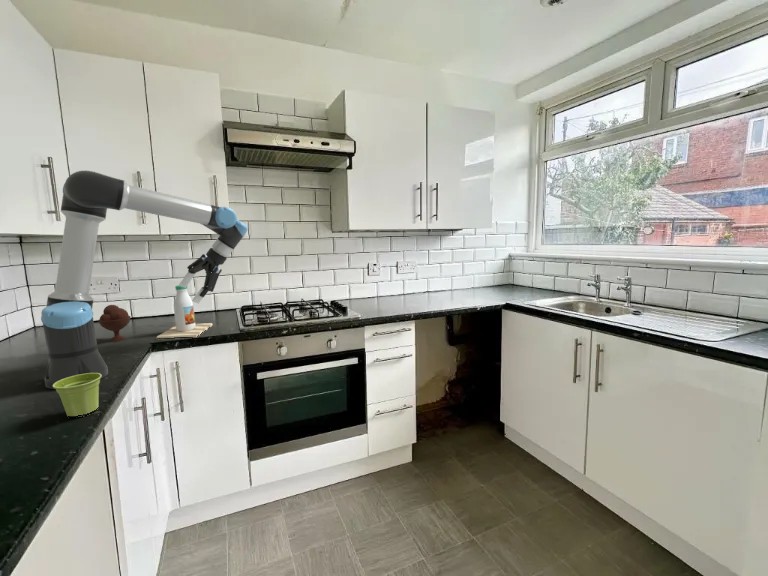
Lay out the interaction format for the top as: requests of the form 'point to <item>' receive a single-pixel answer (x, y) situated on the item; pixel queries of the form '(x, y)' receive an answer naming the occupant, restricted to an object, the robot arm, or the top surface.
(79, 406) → the plant pot
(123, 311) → the ice cream bowl
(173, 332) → the birch board
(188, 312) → the milk bottle
